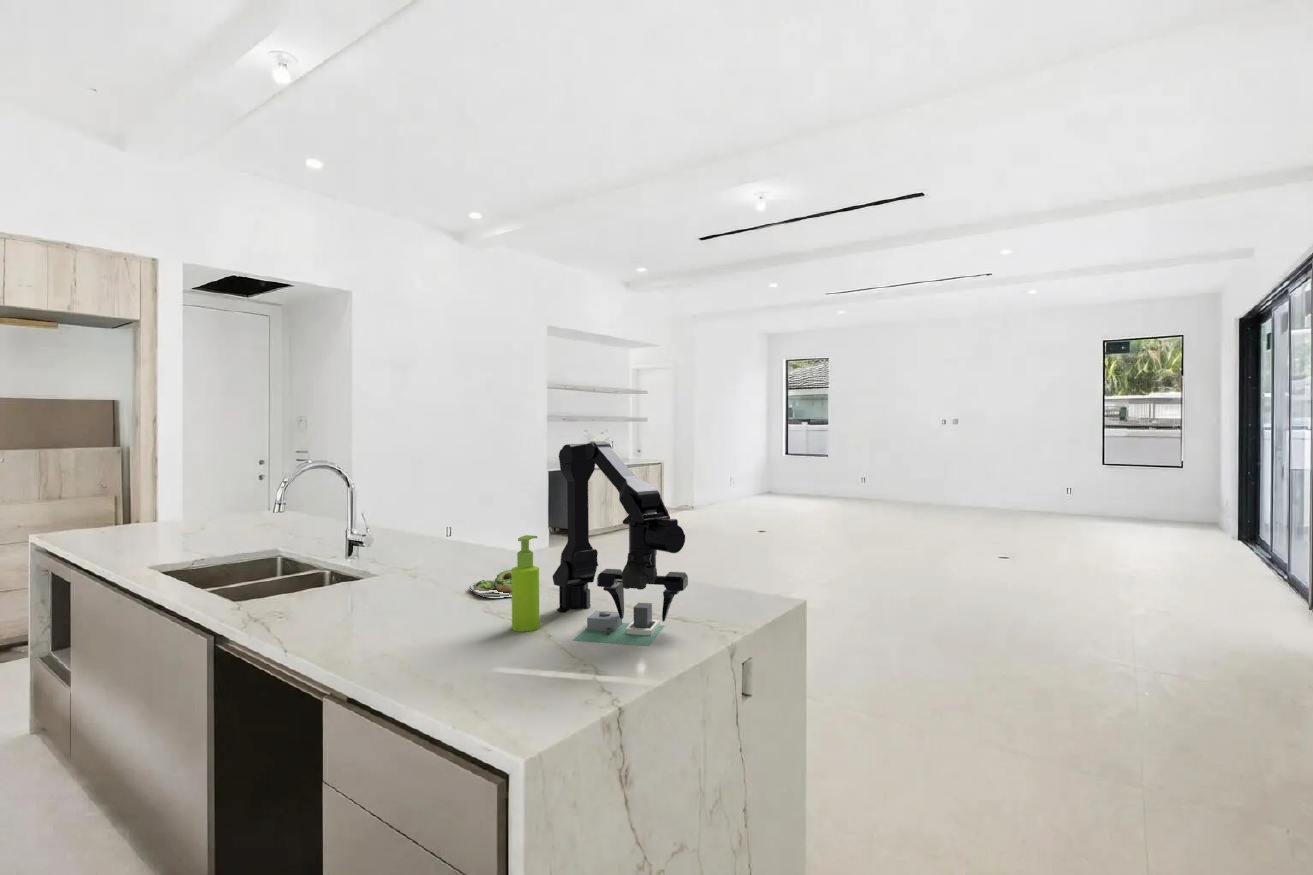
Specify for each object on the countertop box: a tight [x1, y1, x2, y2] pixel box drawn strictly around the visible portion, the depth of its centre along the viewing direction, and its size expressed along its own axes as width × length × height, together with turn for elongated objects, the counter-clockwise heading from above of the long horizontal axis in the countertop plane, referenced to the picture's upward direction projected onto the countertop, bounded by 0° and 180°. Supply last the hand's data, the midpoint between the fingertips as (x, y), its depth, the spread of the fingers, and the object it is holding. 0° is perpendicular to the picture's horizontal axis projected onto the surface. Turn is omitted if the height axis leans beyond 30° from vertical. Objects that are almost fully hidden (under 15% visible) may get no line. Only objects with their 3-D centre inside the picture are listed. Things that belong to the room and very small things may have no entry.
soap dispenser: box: [511, 534, 540, 632], centre depth 153 cm, size 6×7×20 cm
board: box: [572, 610, 665, 647], centre depth 146 cm, size 16×14×4 cm
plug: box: [633, 602, 653, 629], centre depth 149 cm, size 3×5×5 cm, turn 167°
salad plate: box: [469, 569, 512, 597], centre depth 186 cm, size 19×18×5 cm
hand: (642, 619), depth 149 cm, fingers open, 9 cm apart
